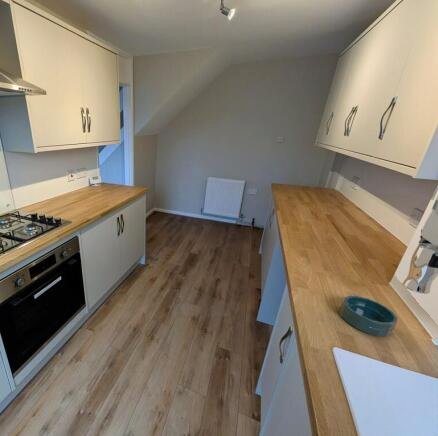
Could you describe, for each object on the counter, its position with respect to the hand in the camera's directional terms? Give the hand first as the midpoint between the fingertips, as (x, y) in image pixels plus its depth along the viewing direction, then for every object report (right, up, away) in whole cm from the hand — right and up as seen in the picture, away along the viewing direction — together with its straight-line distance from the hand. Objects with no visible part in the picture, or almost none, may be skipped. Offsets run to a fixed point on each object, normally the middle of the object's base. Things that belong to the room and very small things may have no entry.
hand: (428, 261), depth 75 cm
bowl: (-13, -22, +8) cm, 27 cm away
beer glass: (0, -10, +4) cm, 10 cm away
